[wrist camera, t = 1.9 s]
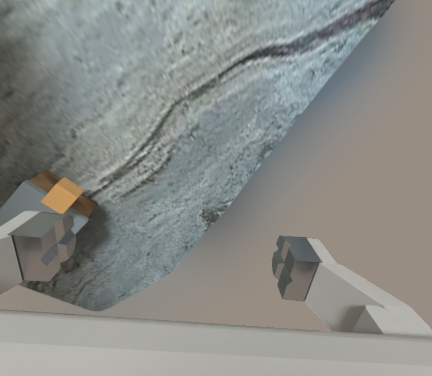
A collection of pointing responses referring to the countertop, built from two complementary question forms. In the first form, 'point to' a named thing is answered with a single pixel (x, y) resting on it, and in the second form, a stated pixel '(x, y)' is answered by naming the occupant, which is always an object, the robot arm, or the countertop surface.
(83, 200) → the walnut box
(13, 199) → the lid
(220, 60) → the countertop surface
